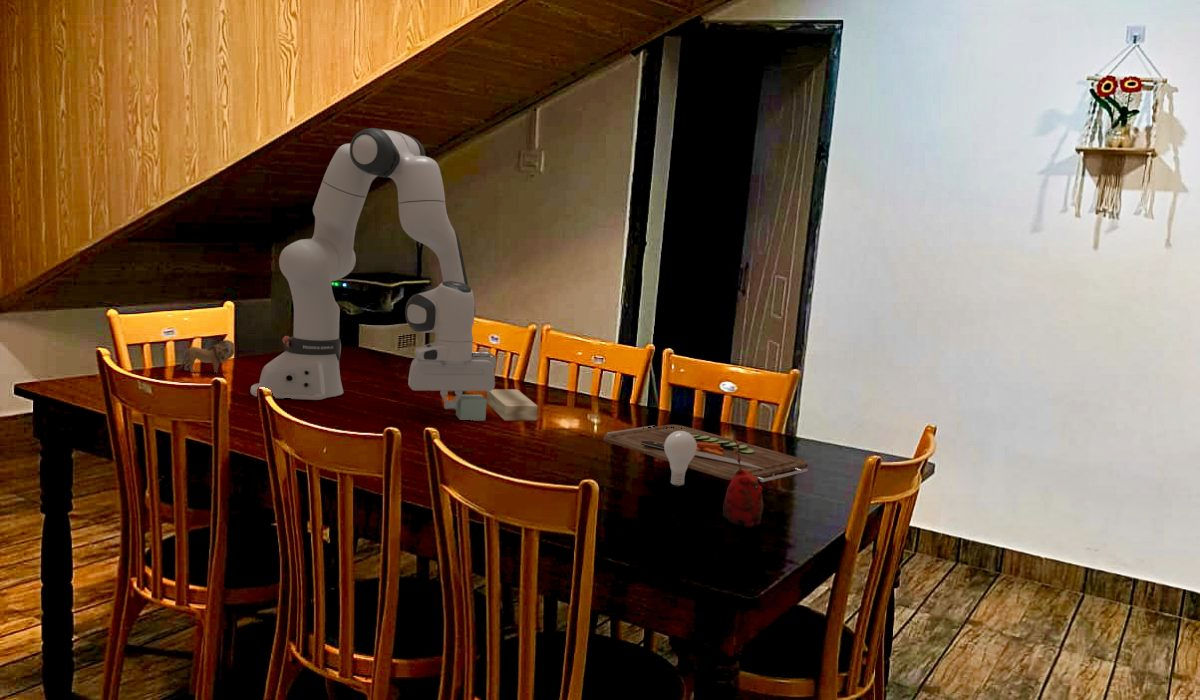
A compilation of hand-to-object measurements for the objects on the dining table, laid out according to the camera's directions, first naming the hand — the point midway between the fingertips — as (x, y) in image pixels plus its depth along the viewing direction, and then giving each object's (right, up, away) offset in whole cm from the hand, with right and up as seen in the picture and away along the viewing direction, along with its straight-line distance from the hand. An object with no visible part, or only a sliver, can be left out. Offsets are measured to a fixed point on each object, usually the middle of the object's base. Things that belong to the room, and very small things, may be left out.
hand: (450, 408), depth 246 cm
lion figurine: (-70, +8, +33) cm, 78 cm away
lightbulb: (+50, -13, -43) cm, 68 cm away
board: (+13, -1, +13) cm, 18 cm away
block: (+4, -2, +2) cm, 5 cm away
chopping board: (+58, -10, -14) cm, 61 cm away
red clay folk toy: (+60, -17, -63) cm, 89 cm away
